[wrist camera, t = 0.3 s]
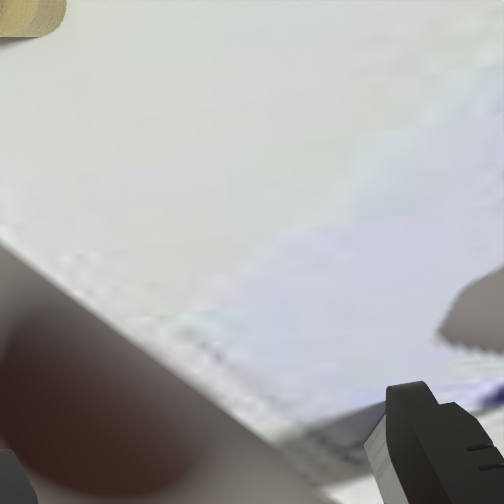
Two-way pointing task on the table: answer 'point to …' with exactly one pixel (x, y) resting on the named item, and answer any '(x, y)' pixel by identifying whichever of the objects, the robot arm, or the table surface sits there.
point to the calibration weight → (30, 17)
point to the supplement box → (383, 466)
